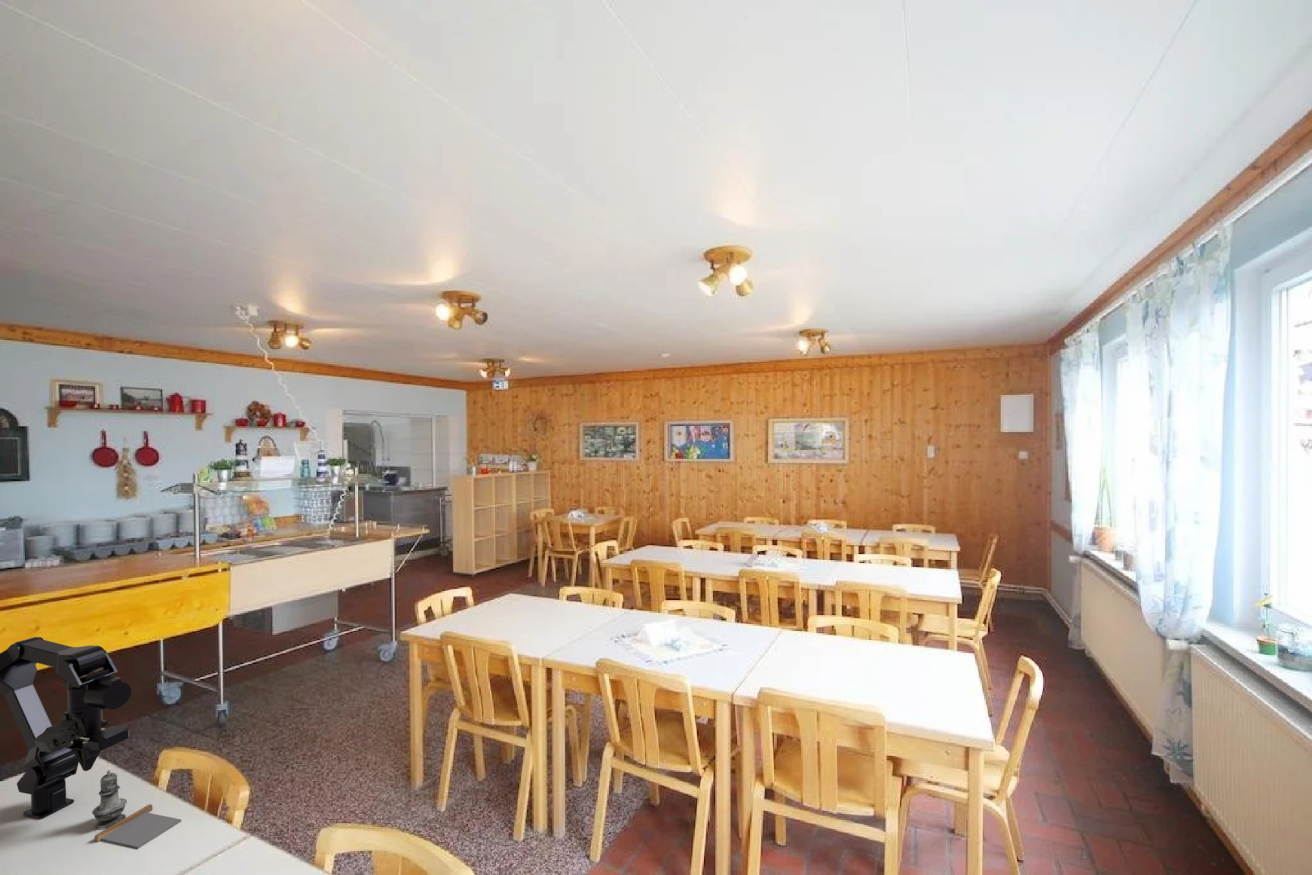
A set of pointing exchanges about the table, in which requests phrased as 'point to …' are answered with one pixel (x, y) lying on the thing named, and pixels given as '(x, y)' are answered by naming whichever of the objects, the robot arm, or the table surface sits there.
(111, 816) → the stone baluster finial
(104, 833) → the kerb
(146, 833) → the mat
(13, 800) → the table surface
